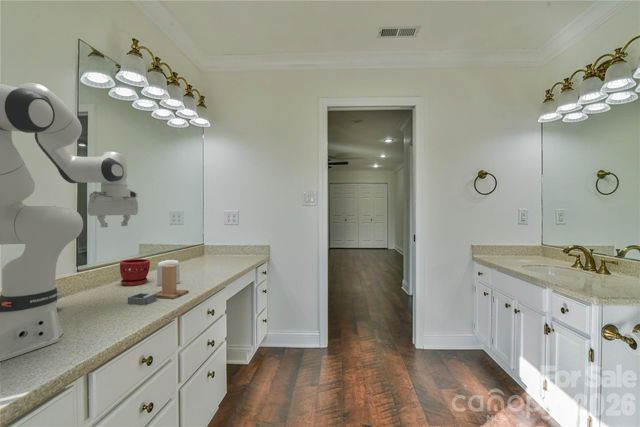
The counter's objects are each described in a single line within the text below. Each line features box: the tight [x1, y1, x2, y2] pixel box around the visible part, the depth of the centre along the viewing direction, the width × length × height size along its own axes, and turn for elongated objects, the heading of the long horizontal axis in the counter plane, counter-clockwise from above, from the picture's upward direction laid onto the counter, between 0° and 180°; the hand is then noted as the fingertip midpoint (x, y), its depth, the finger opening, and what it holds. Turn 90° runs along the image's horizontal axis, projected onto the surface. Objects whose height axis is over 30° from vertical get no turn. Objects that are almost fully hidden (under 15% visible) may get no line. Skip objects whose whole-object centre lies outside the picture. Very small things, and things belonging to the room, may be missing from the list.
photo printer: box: [156, 259, 181, 287], centre depth 151 cm, size 10×4×12 cm, turn 127°
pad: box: [156, 289, 190, 300], centre depth 132 cm, size 10×12×1 cm
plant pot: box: [119, 258, 151, 286], centre depth 153 cm, size 13×13×12 cm
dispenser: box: [127, 291, 158, 306], centre depth 122 cm, size 7×9×4 cm
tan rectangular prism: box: [161, 265, 178, 294], centre depth 131 cm, size 3×5×12 cm, turn 79°
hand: (114, 226), depth 120 cm, fingers open, 8 cm apart
